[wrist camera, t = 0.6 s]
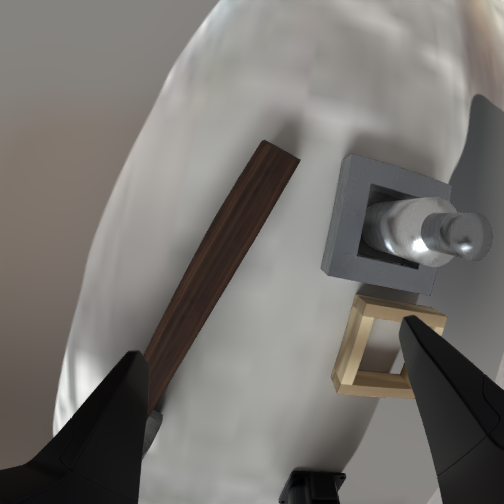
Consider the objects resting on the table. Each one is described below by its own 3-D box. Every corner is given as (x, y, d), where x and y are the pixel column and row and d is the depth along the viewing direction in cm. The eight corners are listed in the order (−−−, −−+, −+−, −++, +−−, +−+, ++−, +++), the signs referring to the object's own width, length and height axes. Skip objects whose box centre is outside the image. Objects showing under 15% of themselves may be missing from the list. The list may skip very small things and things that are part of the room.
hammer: (251, 160, 28) (111, 415, 27) (255, 105, 17) (65, 473, 16) (297, 186, 28) (150, 438, 28) (329, 146, 17) (117, 505, 16)
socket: (414, 287, 25) (430, 295, 22) (320, 268, 25) (327, 275, 22) (434, 188, 24) (451, 185, 21) (342, 160, 24) (351, 153, 21)
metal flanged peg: (397, 254, 25) (494, 286, 12) (355, 244, 25) (436, 272, 12) (407, 208, 24) (508, 206, 11) (365, 197, 24) (452, 182, 11)
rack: (404, 383, 26) (416, 398, 23) (330, 376, 26) (337, 393, 23) (431, 307, 25) (447, 316, 22) (355, 293, 25) (366, 303, 22)
